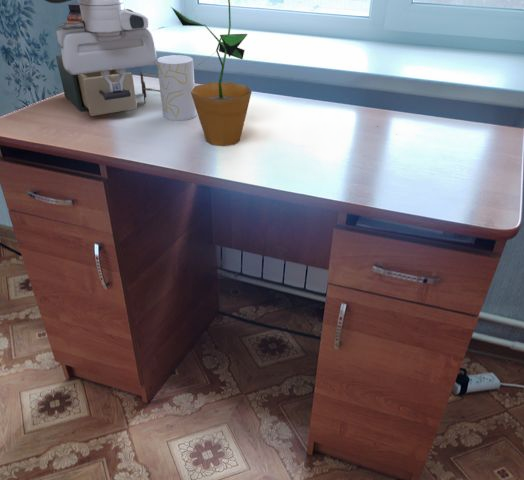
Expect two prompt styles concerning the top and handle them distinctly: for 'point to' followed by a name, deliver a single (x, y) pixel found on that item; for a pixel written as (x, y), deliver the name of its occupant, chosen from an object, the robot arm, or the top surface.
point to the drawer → (105, 93)
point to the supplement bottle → (74, 13)
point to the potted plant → (221, 94)
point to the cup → (176, 86)
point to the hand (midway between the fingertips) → (116, 91)
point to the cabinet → (70, 86)
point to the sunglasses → (144, 85)
